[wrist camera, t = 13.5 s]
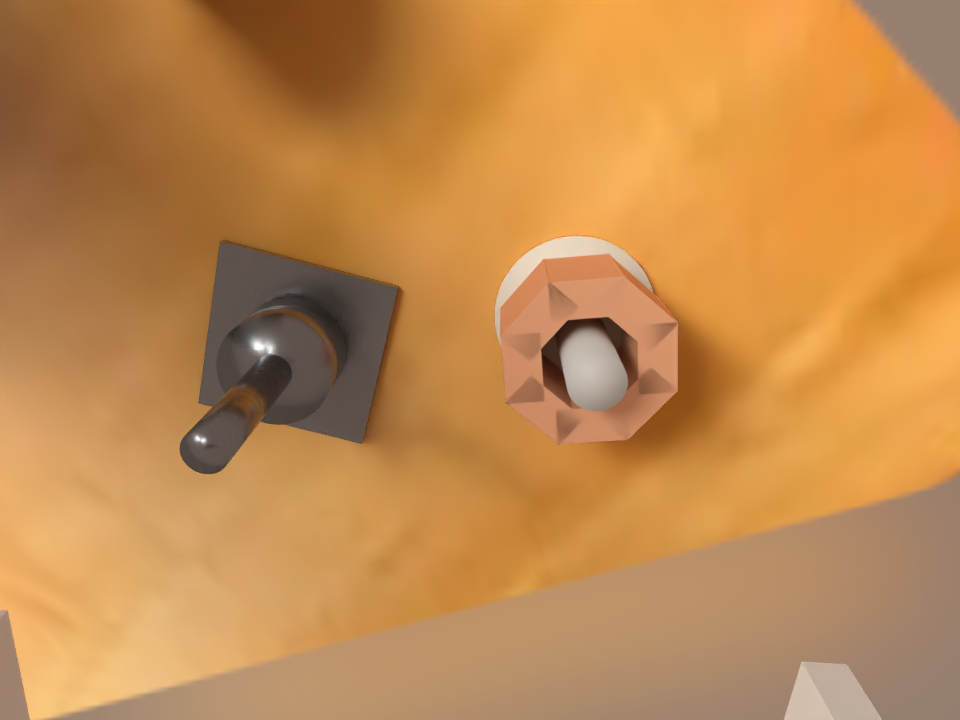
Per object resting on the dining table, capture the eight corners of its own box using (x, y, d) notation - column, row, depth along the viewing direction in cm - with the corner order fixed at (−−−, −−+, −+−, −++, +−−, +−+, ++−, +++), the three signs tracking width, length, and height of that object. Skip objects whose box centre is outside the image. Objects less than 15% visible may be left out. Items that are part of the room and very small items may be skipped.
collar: (508, 406, 39) (509, 448, 34) (496, 262, 36) (495, 286, 31) (656, 396, 38) (678, 436, 33) (655, 249, 35) (678, 271, 31)
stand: (201, 399, 42) (73, 525, 30) (223, 240, 39) (88, 305, 26) (363, 440, 43) (305, 580, 30) (398, 286, 40) (349, 371, 27)
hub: (477, 366, 41) (469, 449, 31) (519, 216, 38) (525, 255, 28) (624, 404, 42) (661, 497, 32) (677, 259, 39) (736, 312, 29)
